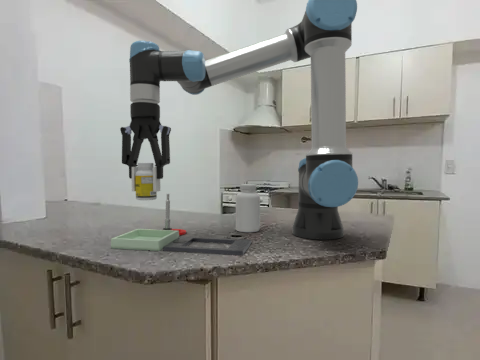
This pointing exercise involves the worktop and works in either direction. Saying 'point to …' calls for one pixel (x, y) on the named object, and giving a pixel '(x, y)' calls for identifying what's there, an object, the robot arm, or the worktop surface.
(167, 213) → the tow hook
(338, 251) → the worktop surface
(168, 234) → the tray
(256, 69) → the robot arm
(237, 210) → the pill bottle
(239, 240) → the dark grey slotted board
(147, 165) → the supplement bottle
